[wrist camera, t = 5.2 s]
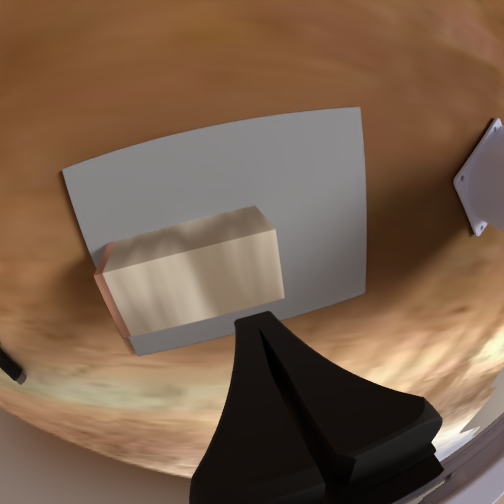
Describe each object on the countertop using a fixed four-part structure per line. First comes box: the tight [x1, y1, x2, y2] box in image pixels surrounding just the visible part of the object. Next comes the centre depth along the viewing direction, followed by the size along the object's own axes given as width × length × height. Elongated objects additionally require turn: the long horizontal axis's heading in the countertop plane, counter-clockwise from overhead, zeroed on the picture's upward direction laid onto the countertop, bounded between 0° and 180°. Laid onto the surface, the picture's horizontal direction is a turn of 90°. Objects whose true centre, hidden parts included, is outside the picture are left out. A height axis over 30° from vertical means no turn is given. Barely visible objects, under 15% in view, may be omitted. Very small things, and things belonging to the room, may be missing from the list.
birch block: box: [94, 205, 285, 338], centre depth 17 cm, size 4×4×9 cm
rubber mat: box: [62, 107, 367, 356], centre depth 19 cm, size 18×14×1 cm
